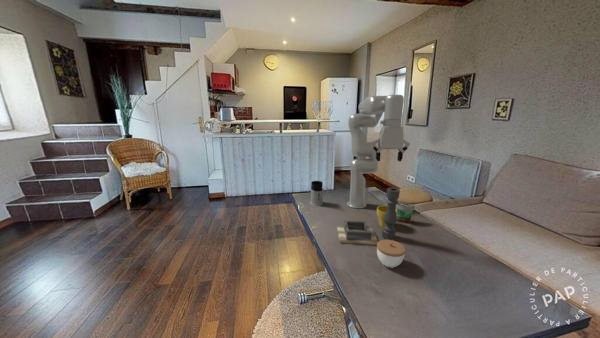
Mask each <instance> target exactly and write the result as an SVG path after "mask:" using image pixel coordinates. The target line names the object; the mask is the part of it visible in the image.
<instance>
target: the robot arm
mask: <svg viewBox="0 0 600 338" xmlns="http://www.w3.org/2000/svg"><path fill="white" fill-rule="evenodd" d="M404 98H405V97H404V95H403V94H402V95H401V94H388V95H371V96H367V97H365V99H364V100H362V101H361V102H360V103H359V104H358V111H359V112H360V113H353V114H351V115H350V116H349V118H348V128H349V131H350V135H351V153H352V156H354V157H357V158H355V159H352V160H351V161H350V163H349V167H350V169H349V170H350V184H349V185H350V186H349V187H350V188H349V200H348V201H347V202H346V204H347V206H348V207H350V208H352V209H364V208H366V207H367V203H366V202H365V195H366V178H365V176H364V174H365V175H366V174H376V173H377V172H378V170H379V162H381V151H382V150H398V152H397V156H396V157H397V159H396V161H398V162H402V160H403V156H404V153H405V151H406V150H408V148H409V147H410V144H411V143H410V142H408V141H406V140H404V139H405V138H404V137H405V136H404V127H403V126H402V119H403V108H404V100H405V99H404ZM382 116H383V120H380V119H381V118H382ZM378 124H380V125H382V126H381V127H380V132H379V136H378V139H376V140H374V141H366V134H365V132H364V130H362V128H375V127H376V126H378ZM358 157H359V158H358ZM362 157H363V158H362Z"/></svg>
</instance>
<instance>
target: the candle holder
mask: <svg viewBox="0 0 600 338" xmlns="http://www.w3.org/2000/svg"><path fill="white" fill-rule="evenodd" d="M400 192H401V189H400V188H396V187H387V188H386V198H387V200H386V204H387V205H386V206H387V211H386V213H385V216H384V222H385V226H384V227H382V230H381V232H382V233H381V237H382V238H383V240H393V241H395V239H396V228H395V225H396V224H397V223H398V221H397V217H396V205H397V204H399V202H398V199H399V198H400Z"/></svg>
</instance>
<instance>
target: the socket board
mask: <svg viewBox="0 0 600 338" xmlns="http://www.w3.org/2000/svg"><path fill="white" fill-rule="evenodd" d="M336 230H337V235H338V241H339V243H340V244H355V245H356V244H360V245H377V243H378V242H379V240H378V238H377V236H376V234H375V231H374V229H373V228H371V227H369V224H368V223H367V221H363V220H362V221H360V220H359V221H356V220H344V221H343V226H337V229H336Z"/></svg>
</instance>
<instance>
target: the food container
mask: <svg viewBox="0 0 600 338" xmlns="http://www.w3.org/2000/svg"><path fill="white" fill-rule="evenodd" d="M415 209H416V206H415V205H408V204H405V203H398V204H397V205H396V210H397V216H396V217H397V223H402V224H408V223H410V222H411V220H412V218H413V217H412V216H413V214H414V213H413V212H414V210H415Z"/></svg>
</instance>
